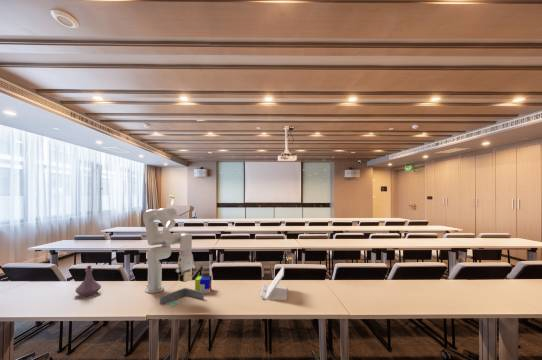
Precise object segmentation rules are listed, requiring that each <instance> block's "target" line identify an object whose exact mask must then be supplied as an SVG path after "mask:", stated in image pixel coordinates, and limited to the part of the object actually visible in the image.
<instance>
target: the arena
mask: <svg viewBox="0 0 542 360" xmlns="http://www.w3.org/2000/svg"><path fill="white" fill-rule="evenodd" d="M183 296H187V297H191V298H194V299H198V300H205V299H204V297H205V293H204V292H201V291H197V290H195V289H192V288H188V287H183V288H180V289H178V290H176V291H172V292H169V293H167V294H164V295H161V296H159V305H163V304H165V305H167V306H170V307H173V306H176V305H179V304H181V302H180V301H177V299H178V298H181V297H183Z"/></svg>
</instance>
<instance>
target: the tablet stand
mask: <svg viewBox="0 0 542 360" xmlns="http://www.w3.org/2000/svg"><path fill="white" fill-rule="evenodd" d="M284 276H285V266H284V265H282V267H280V270H279V271H278V273H277V274H276V275H275V277H274V279H273V280H272V281H271V283H270V285H269V286H268V285H267V284H265V283H264V284H263V285H262V289H261V292H260V298H262V299H264V300H267V301H272V300H273V301H287V299H288V287H287V286H278V285H279V283H280V281H281V280H282V279H283V277H284Z"/></svg>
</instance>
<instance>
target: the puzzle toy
mask: <svg viewBox="0 0 542 360" xmlns="http://www.w3.org/2000/svg"><path fill="white" fill-rule="evenodd" d="M194 281H195V282H194V283H195V284H194V290H197V291H201V292H204V294H209V293H210V292H211V291H212V275H197V276H196V278H195V280H194Z"/></svg>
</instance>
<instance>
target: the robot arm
mask: <svg viewBox="0 0 542 360" xmlns="http://www.w3.org/2000/svg"><path fill="white" fill-rule="evenodd" d="M177 216H178V213H177V210H176V209H175V208H173V207H163V208H155V209H154V208H153V209H148V210H145V211H144V213H143V217H142V219H143V224H144V226H145V231H146V238H147V239H146V240H147V243H148V244H147V245H148V246H154V247H150V248H149V249H148V250H147V252H146V258H147V283H146V284H145V286H146V288H145V292H146V293H150V294H155V293H159V292H162V291H163V290H164V286H162V279H163V277H162V276H163V275H162V271H163V269H162V263H161V261H160V260H163V259H168V258H169V257H170V256H171V255H172V248H171V246H172V245H173V246H174V245H179V252H178V254H179V255H178V259H177V261H178V262H177V267H176V269H175V272H176V273H177V274H178V282H182V281H183V272H184V271H186V270H190V271H192V272H193V270H194V268H195V267H196V266H195V264H194V254H193V253H192V251H193V250H192V249H193V247H192V243H193V242H192V241H193V240H192V239H193V237H192V234H191V233H187V232H182V231H181V232H173V233H171V231H170V230H171V229H173V228H174V227H175V225H176V220H175V219H176V218H177ZM156 221H159V222H160V223H161V225H162V226H163V228H162V231H159V225H158V224H157V223H156ZM160 245H161V246H160ZM181 271H182V272H181Z"/></svg>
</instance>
